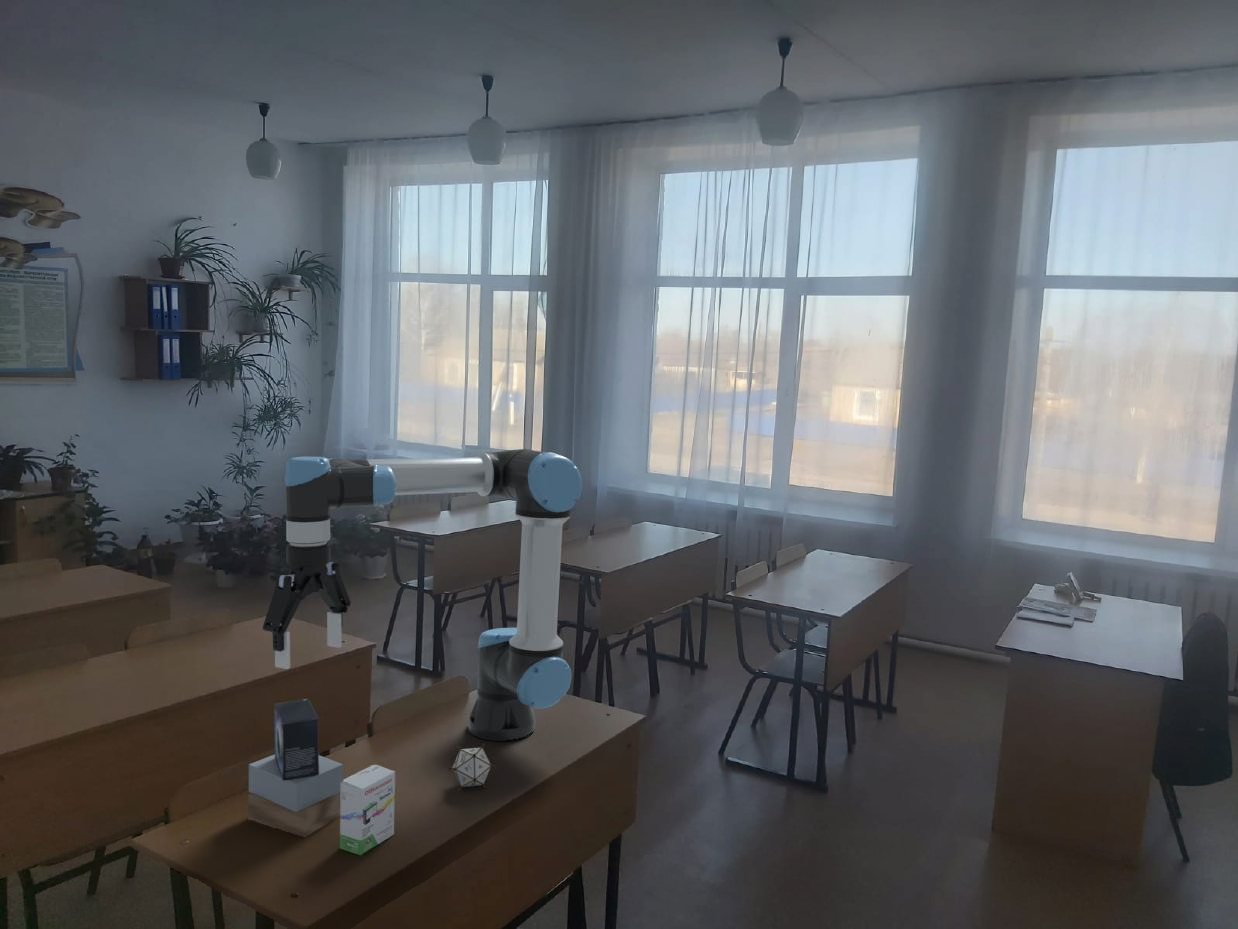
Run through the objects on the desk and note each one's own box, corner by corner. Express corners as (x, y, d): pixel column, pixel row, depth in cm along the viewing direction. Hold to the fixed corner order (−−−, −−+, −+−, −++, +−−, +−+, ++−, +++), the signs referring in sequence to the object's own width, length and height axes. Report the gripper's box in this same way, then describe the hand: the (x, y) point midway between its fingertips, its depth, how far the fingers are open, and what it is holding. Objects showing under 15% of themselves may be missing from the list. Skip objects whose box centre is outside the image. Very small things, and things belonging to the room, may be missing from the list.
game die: (476, 808, 174) (482, 782, 168) (438, 788, 175) (443, 762, 169) (498, 771, 181) (505, 745, 174) (461, 752, 182) (467, 725, 176)
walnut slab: (289, 799, 168) (289, 773, 167) (344, 815, 163) (345, 788, 162) (248, 822, 159) (248, 795, 158) (305, 839, 154) (305, 812, 153)
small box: (272, 758, 162) (272, 702, 161) (309, 752, 165) (309, 697, 164) (280, 782, 153) (280, 722, 152) (320, 775, 156) (320, 717, 155)
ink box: (360, 856, 148) (361, 788, 147) (338, 848, 150) (339, 781, 149) (395, 834, 156) (396, 769, 155) (373, 827, 158) (374, 763, 157)
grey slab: (295, 772, 168) (295, 746, 168) (342, 791, 161) (343, 764, 161) (248, 791, 160) (248, 764, 159) (296, 812, 153) (296, 784, 152)
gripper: (337, 530, 174) (338, 636, 177) (239, 552, 151) (241, 674, 154) (369, 533, 172) (369, 641, 174) (273, 556, 149) (275, 680, 151)
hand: (309, 656), depth 164 cm, fingers open, 13 cm apart
